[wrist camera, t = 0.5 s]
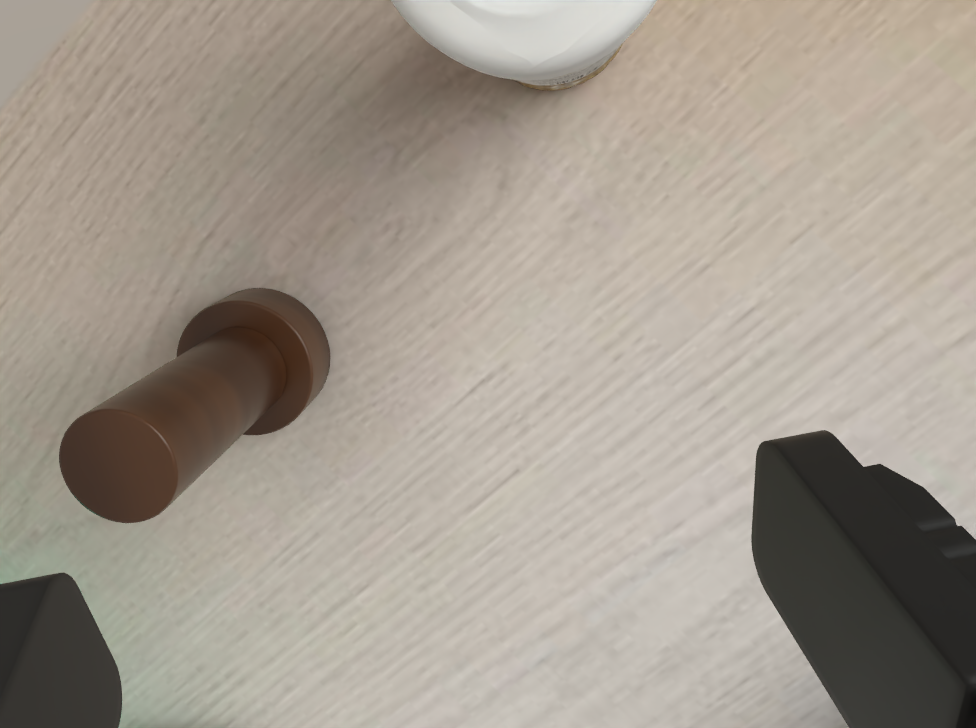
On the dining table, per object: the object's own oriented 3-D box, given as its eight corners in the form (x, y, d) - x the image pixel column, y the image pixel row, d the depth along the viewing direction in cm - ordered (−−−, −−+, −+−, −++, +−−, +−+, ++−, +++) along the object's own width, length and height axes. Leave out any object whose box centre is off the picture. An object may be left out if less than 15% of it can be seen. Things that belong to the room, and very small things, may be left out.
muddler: (298, 269, 27) (157, 349, 18) (351, 392, 28) (243, 526, 19) (180, 312, 28) (-11, 409, 19) (236, 430, 29) (80, 576, 20)
